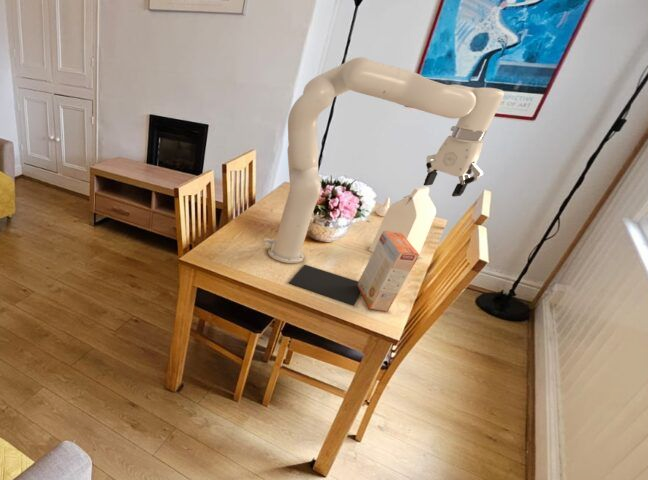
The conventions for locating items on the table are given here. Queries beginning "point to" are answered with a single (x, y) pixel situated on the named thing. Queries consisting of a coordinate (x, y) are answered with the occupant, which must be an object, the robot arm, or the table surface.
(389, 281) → the cracker box
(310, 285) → the mat
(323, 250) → the table surface
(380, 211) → the garlic bulb
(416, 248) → the milk
